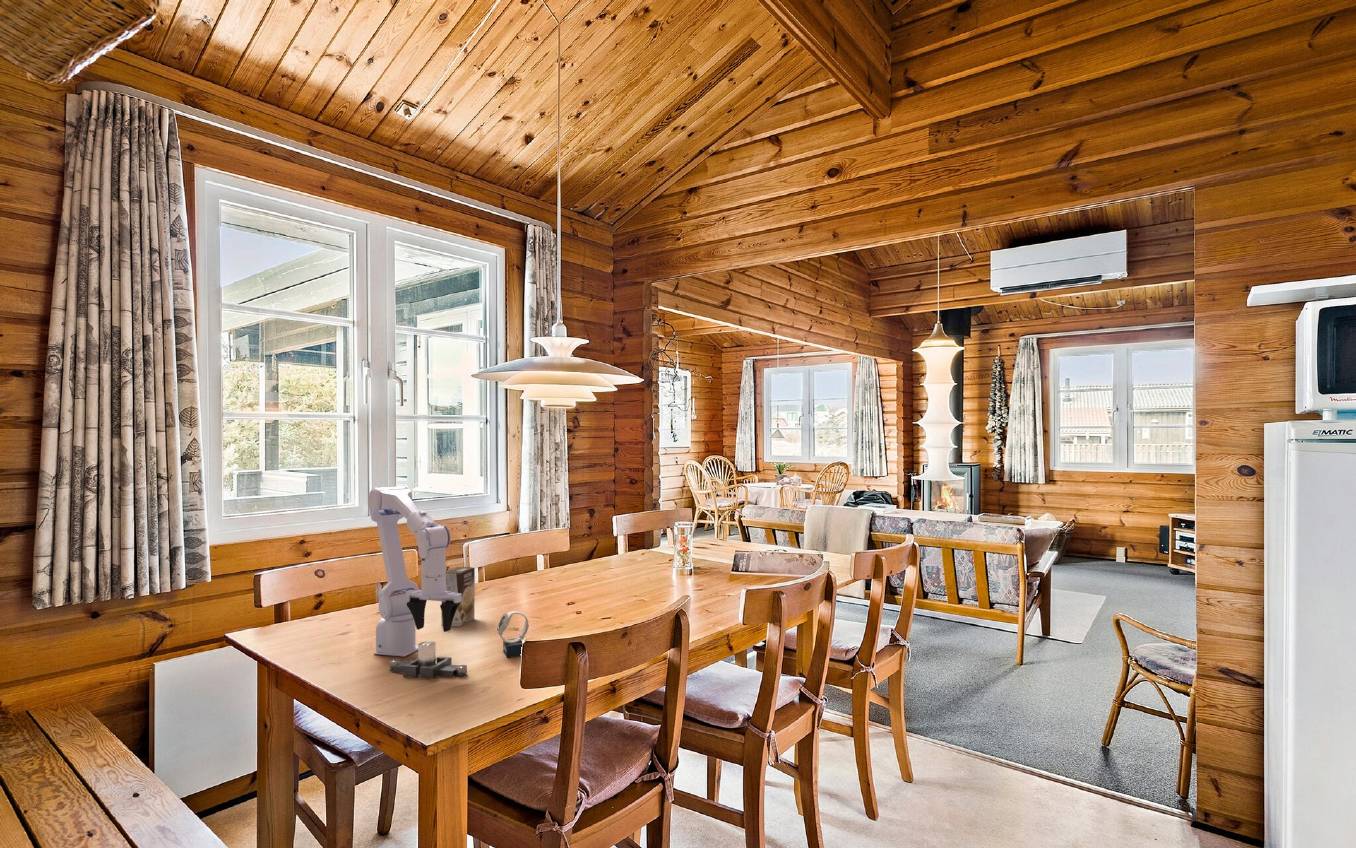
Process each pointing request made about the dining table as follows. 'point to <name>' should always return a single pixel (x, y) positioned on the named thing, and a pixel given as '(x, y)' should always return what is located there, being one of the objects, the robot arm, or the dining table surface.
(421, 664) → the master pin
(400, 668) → the chain end left
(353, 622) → the dining table surface
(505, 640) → the watch
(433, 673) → the chain end right
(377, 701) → the dining table surface
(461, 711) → the dining table surface
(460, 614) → the coffee box
